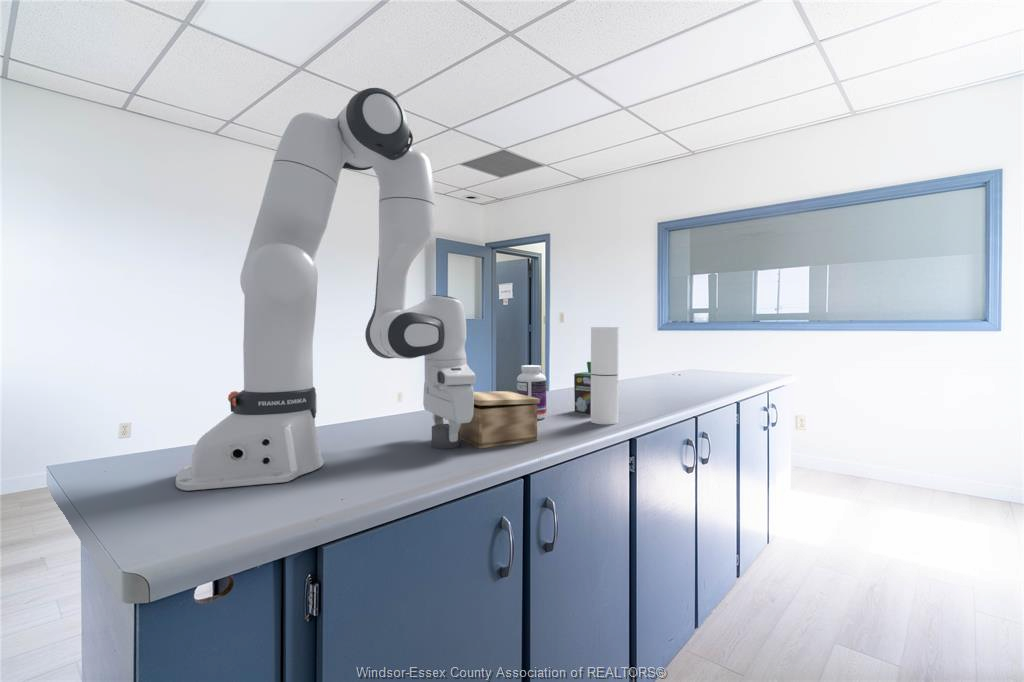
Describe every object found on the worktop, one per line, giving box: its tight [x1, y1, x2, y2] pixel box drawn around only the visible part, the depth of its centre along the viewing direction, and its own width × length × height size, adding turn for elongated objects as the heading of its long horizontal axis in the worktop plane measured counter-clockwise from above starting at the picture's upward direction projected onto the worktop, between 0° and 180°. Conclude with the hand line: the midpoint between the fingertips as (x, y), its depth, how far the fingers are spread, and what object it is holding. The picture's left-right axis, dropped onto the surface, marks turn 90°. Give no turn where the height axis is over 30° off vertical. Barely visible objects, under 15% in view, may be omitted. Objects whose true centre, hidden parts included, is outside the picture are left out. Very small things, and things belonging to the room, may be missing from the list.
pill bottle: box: [516, 364, 547, 421], centre depth 135 cm, size 8×8×14 cm
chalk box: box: [573, 361, 591, 415], centre depth 146 cm, size 9×9×15 cm
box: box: [460, 404, 538, 449], centre depth 111 cm, size 14×14×8 cm
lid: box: [474, 390, 540, 406], centre depth 111 cm, size 15×15×1 cm
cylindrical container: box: [590, 326, 620, 425], centre depth 130 cm, size 7×7×25 cm
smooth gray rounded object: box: [431, 423, 461, 450], centre depth 104 cm, size 6×6×4 cm
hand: (446, 437), depth 105 cm, fingers closed on smooth gray rounded object, 6 cm apart
